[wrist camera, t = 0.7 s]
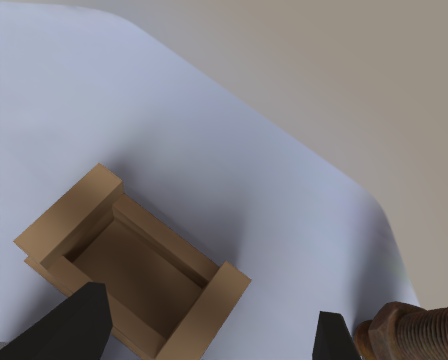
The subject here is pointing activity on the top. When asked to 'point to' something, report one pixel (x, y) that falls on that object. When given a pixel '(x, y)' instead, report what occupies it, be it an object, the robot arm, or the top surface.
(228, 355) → the top surface
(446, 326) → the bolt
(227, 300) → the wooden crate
